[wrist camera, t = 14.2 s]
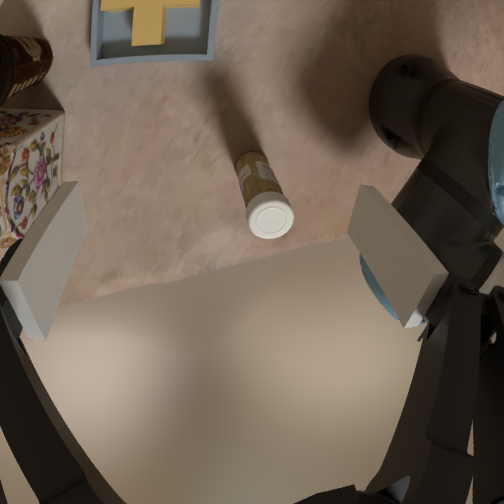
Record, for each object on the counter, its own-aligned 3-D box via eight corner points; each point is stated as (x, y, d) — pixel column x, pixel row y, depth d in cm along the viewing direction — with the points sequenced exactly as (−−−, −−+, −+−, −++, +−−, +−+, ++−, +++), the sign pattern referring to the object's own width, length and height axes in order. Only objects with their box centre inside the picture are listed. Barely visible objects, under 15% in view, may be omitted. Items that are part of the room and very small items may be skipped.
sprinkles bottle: (228, 161, 41) (239, 214, 30) (260, 145, 40) (284, 192, 29) (244, 188, 44) (260, 247, 33) (275, 173, 43) (301, 228, 32)
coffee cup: (15, 27, 24) (-47, 35, 14) (68, 30, 27) (14, 33, 16) (3, 89, 28) (-57, 118, 18) (52, 95, 31) (-1, 125, 21)
